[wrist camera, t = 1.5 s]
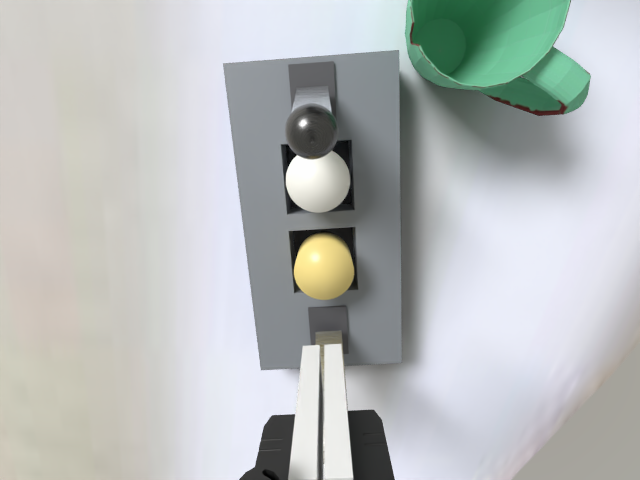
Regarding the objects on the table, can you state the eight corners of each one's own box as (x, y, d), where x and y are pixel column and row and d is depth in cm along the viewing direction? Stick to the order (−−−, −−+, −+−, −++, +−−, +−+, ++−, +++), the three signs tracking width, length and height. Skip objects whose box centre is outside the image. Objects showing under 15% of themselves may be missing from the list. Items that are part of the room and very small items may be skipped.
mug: (361, 64, 31) (377, 24, 21) (430, -41, 29) (482, -137, 19) (484, 159, 33) (551, 162, 23) (557, 67, 31) (663, 28, 21)
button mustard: (295, 233, 32) (291, 244, 28) (349, 230, 32) (352, 240, 28) (299, 284, 33) (296, 301, 29) (351, 281, 33) (355, 298, 29)
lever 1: (291, 75, 26) (279, 113, 17) (330, 72, 26) (339, 109, 17) (295, 116, 28) (286, 169, 19) (332, 113, 28) (341, 166, 19)
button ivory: (288, 150, 30) (282, 149, 26) (345, 146, 30) (348, 145, 26) (293, 206, 31) (288, 214, 27) (348, 203, 31) (351, 210, 27)
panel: (235, 74, 31) (222, 62, 27) (389, 62, 31) (399, 49, 27) (267, 348, 38) (260, 372, 34) (393, 341, 38) (402, 364, 34)
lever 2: (311, 325, 32) (310, 455, 22) (344, 323, 31) (356, 453, 22) (314, 346, 33) (313, 475, 24) (345, 345, 33) (356, 473, 24)
